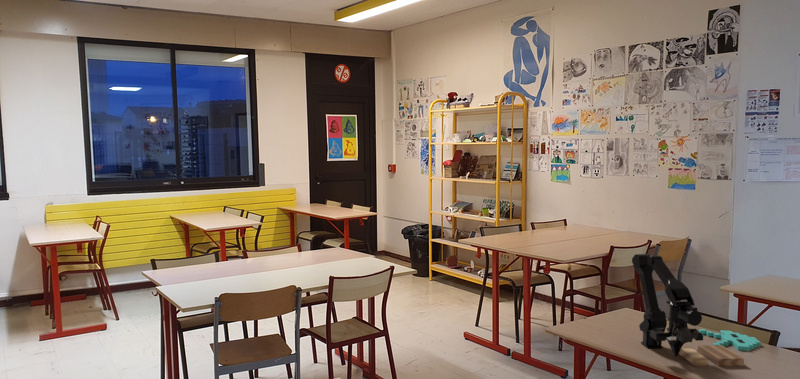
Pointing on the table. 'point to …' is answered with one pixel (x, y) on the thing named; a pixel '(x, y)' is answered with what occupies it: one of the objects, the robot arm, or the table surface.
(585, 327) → the table surface
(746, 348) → the alien figure
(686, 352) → the oak plank
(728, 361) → the floor section
